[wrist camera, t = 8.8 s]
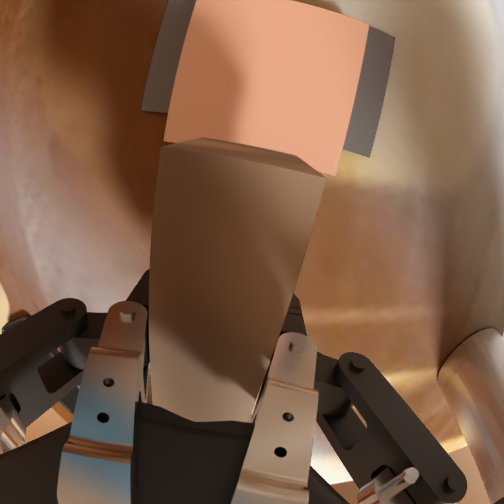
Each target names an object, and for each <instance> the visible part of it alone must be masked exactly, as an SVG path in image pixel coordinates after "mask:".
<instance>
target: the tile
mask: <svg viewBox="0 0 504 504" xmlns="http://www.w3.org/2000/svg"><path fill="white" fill-rule="evenodd" d="M368 29H369V24H367V23H365V22H362V21H360V20H357V19H354V18H351V17H349V16H346V15H343V14H340V13H337V12H333V11H330V10H327V9H323V8H320V7H316V6H313V5H309V4H305V3H301V2H297V1H292V0H196V3H195V7H194V10H193V13H192V16H191V20H190V23H189V27H188V30H187V34H186V37H185V41H184V45H183V49H182V53H181V57H180V61H179V65H178V69H177V73H176V78H175V82H174V87H173V91H172V96H171V101H170V106H169V112H168V117H167V122H166V128H165V134H164V140H163V141H166V142H173V143H179V142H183V141H188V140H193V139H197V138H202V137H204V138H211V139H217V140H223V141H229V142H235V143H240V144H245V145H250V146H256V147H260V148H265V149H270V150H275V151H279V152H284V153H288V154H292V155H296V156H298V157H299V158H300V159H302V160H303V161H304V162H306V163H307V164H308V165H310V166H311V167H312V168H314V169H315V170H316V171H318V172H322V173H326V174H330V175H333V176H336V172H337V169H338V165H339V161H340V157H341V154H342V150H343V146H344V142H345V138H346V134H347V130H348V126H349V121H350V117H351V113H352V109H353V104H354V100H355V95H356V91H357V86H358V81H359V77H360V72H361V67H362V62H363V57H364V52H365V46H366V41H367V35H368Z"/></svg>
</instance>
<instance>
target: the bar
mask: <svg viewBox="0 0 504 504" xmlns="http://www.w3.org/2000/svg"><path fill="white" fill-rule="evenodd" d="M326 179H327V178H325V177H324V176H323V175H322V174H320V173H319V172H318V171H316V170H315V169H314V168H312V167H311V166H310V165H308V164H307V163H306V162H304V161H303V160H302V159H300V158H299V157H298V156H296V155H292V154H288V153H284V152H279V151H275V150H270V149H265V148H260V147H256V146H250V145H245V144H240V143H235V142H229V141H223V140H217V139H211V138H204V137H202V138H197V139H193V140H188V141H183V142H179V143H174V144H170V145H166V146H162V147H161V150H160V157H159V164H158V172H157V180H156V189H155V199H154V209H153V221H152V235H151V251H150V274H149V352H150V374H151V390H152V403H153V405H156V406H160V407H162V408H164V409H166V410H169V411H171V412H173V413H175V414H177V415H179V416H182V417H184V418H186V419H189V420H191V421H194V422H210V421H229V420H232V421H240V422H248V419H249V417H250V414H251V411H252V409H253V406H254V404H255V401H256V398H257V396H258V393H259V390H260V388H261V385H262V382H263V380H264V377H265V374H266V371H267V369H268V366H269V363H270V360H271V358H272V355H273V352H274V349H275V346H276V343H277V340H278V338H279V335H280V332H281V329H282V326H283V323H284V320H285V317H286V314H287V311H288V308H289V305H290V302H291V299H292V295H293V292H294V289H295V286H296V283H297V280H298V276H299V273H300V270H301V267H302V263H303V260H304V257H305V254H306V250H307V247H308V243H309V240H310V237H311V233H312V230H313V226H314V223H315V219H316V216H317V212H318V209H319V205H320V201H321V198H322V194H323V190H324V186H325V183H326Z"/></svg>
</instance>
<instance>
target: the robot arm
mask: <svg viewBox="0 0 504 504" xmlns="http://www.w3.org/2000/svg"><path fill="white" fill-rule="evenodd" d="M149 274H150V269H149V270H147V271H146V272H145V273H144V274H143V276H142V277H141V279H140V280H139V282H138V284H137V285H136V286H135V288H134V289H133V291H132V292H131V294H130V295H129V297H128V298H127V300H126V301H121V302H118V303H115V304H114V305H112V306H111V307H110V308H109V310H108V313H91V312H87V309H86V305H85V304H84V303H83V302H82V301H80V300H78V299H74V298H66V299H61V300H59V301H57V302H55V303H53V304H52V305H50V306H48V307H46V308H45V309H43V310H41V311H39V312H38V313H36V314H34V315H32V316H31V317H29V318H27V319H26V320H24V321H22V322H21V323H19V324H17V325H15V326H14V327H12V328H10V329H9V330H7V331H6V332H4V333H2V334H1V335H0V504H349V503H348V502H347V501H346V500H345V499H344V498H343V497H342V496H341V495H340V494H339V493H338V492H336V491H335V490H334V489H333V488H332V487H331V486H330V485H329V484H328V483H327V482H326V481H325V480H324V479H323V478H322V477H321V476H320V475H319V474H318V473H317V472H316V471H315V470H314V469H313V468H312V467H311V466H310V463H311V456H312V448H313V441H314V433H315V425H316V421H317V423H318V425H319V426H320V428H321V429H322V431H323V433H324V434H325V436H326V438H327V439H328V441H329V442H330V444H331V446H332V447H333V449H334V450H335V452H336V454H337V455H338V457H339V458H340V460H341V461H342V463H343V465H344V466H345V468H346V469H347V471H348V472H349V474H350V476H351V477H352V479H353V480H354V482H355V483H356V485H357V486H358V488H359V489H360V490H359V493H358V497H357V500H358V502H357V504H455V503H457V502H459V501H460V500H461V499H462V498H463V497H464V496H465V494H466V491H467V480H466V477H465V475H464V474H463V472H462V471H461V470H460V469H459V468H458V466H457V465H456V464H455V463H454V461H453V460H452V459H451V457H450V456H449V455H448V454H447V452H446V451H445V450H444V449H443V447H442V446H441V445H440V444H439V442H438V441H437V440H436V439H435V438H434V436H433V435H432V434H431V433H430V431H429V430H428V429H427V428H426V427H425V425H424V424H423V423H422V422H421V420H420V419H419V418H418V417H417V416H416V414H415V413H414V412H413V411H412V410H411V408H410V407H409V406H408V405H407V404H406V402H405V401H404V400H403V399H402V398H401V396H400V395H399V394H398V393H397V392H396V390H395V389H394V388H393V387H392V386H391V384H390V383H389V382H388V381H387V380H386V379H385V377H384V376H383V375H382V374H381V373H380V371H379V370H378V369H377V368H376V367H375V366H374V364H373V363H372V362H371V361H370V360H369V359H368V358H367V357H365V356H363V355H361V354H359V353H354V352H348V353H344V354H342V355H341V356H340V358H339V360H337V359H334V358H331V357H328V356H325V355H323V354H321V353H319V352H317V347H316V344H315V343H314V342H313V341H312V340H311V339H310V338H309V337H307V334H306V329H305V324H304V320H303V316H302V310H301V305H300V301H299V299H298V298H297V297H296V296H295V294H294V293H293V295H292V299H291V302H290V305H289V308H288V311H287V314H286V317H285V320H284V323H283V326H282V329H281V332H280V335H279V338H278V340H277V343H276V346H275V349H274V352H273V355H272V358H271V360H270V363H269V366H268V369H267V371H266V374H265V377H264V380H263V383H262V386H261V388H260V391H259V395H258V398H257V401H256V405H255V408H254V411H253V414H252V417H251V420H250V423H248V422H240V421H232V420H229V421H210V422H194V421H191V420H189V419H186V418H184V417H182V416H179V415H177V414H175V413H173V412H171V411H169V410H166V409H164V408H162V407H160V406H156V405H152V404H148V403H147V394H148V377H149V362H150V352H149ZM58 347H59V348H60V351H61V352H60V353H58V354H57V355H55V356H54V357H53V358H51V359H50V360H48V361H47V362H45V363H44V364H43V365H41V366H40V367H38V363H39V362H40V360H41V359H42V358H44V357H45V356H47V355H48V354H50V353H51V352H52V351H54V350H55V349H57V348H58ZM37 367H38V368H37ZM80 383H81V384H80ZM79 384H80V388H79V393H78V397H77V401H76V406H75V411H74V415H73V420H72V422H70V423H68V424H66V425H64V426H62V427H60V428H58V429H56V430H54V431H52V432H50V433H48V434H46V435H43V436H41V437H39V438H37V439H35V440H32V441H30V442H28V443H26V444H25V441H24V438H25V434H26V427H27V426H29V425H30V424H31V423H32V422H34V421H35V420H36V419H37V418H39V417H40V416H41V415H42V414H43V413H45V412H46V411H47V410H48V409H49V408H51V407H52V406H53V405H54V404H56V403H57V402H58V401H59V400H61V399H62V398H63V397H64V396H65V395H67V394H68V393H69V392H70V391H72V390H73V389H74V388H75V387H77V386H78V385H79ZM438 384H439V386H440V388H441V390H442V392H443V394H444V396H445V398H446V400H447V402H448V404H449V406H450V408H451V410H452V412H453V414H454V416H455V418H456V420H457V422H458V425H459V427H460V429H461V431H462V433H463V435H464V438H465V440H466V442H467V444H468V447H469V449H470V451H471V454H472V456H473V458H474V461H475V463H476V466H477V468H478V471H479V473H480V476H481V479H482V481H483V484H484V486H485V489H486V492H487V495H488V498H489V501H490V504H504V338H503V337H502V336H501V334H500V333H499V332H498V331H497V330H496V329H494V328H488V329H484V330H481V331H479V332H477V333H475V334H474V335H472V336H470V337H469V338H468V339H466V340H465V341H464V342H463V343H462V344H460V345H459V346H458V347H457V348H456V349H455V350H454V351H453V352H452V354H451V355H450V356H449V357H448V359H447V360H446V361H445V363H444V364H443V366H442V367H441V370H440V372H439V375H438ZM353 405H354V406H355V407H356V409H357V410H358V411H359V413H360V414H361V416H362V417H363V418H364V420H365V421H366V423H367V428H366V427H365V426H364V424H363V423H362V421H361V420H360V419H359V417H358V416H357V414H356V413H355V412H354V410H353V409H352V407H353Z"/></svg>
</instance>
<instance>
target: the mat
mask: <svg viewBox="0 0 504 504" xmlns="http://www.w3.org/2000/svg"><path fill="white" fill-rule="evenodd" d="M195 3H196V0H169V1H168V4H167V7H166V10H165V13H164V16H163V20H162V23H161V26H160V30H159V33H158V37H157V41H156V44H155V48H154V52H153V56H152V60H151V64H150V68H149V73H148V77H147V82H146V87H145V91H144V97H143V102H142V107H141V111H151V112H162V113H168V112H169V106H170V101H171V96H172V91H173V87H174V82H175V78H176V73H177V69H178V65H179V61H180V57H181V53H182V49H183V45H184V41H185V37H186V34H187V30H188V27H189V23H190V20H191V16H192V13H193V10H194V7H195ZM394 40H395V37H393V36H390V35H388V34H386V33H384V32H381V31H379V30H376V29H374V28H371V27H369V29H368V35H367V41H366V46H365V52H364V57H363V62H362V67H361V72H360V77H359V81H358V86H357V91H356V95H355V100H354V104H353V109H352V113H351V117H350V121H349V126H348V130H347V134H346V138H345V142H344V146H343V149H345V150H348V151H351V152H354V153H357V154H360V155H363V156H366V157H369V158H370V154H371V150H372V147H373V143H374V139H375V135H376V131H377V126H378V122H379V118H380V114H381V109H382V105H383V100H384V95H385V90H386V85H387V80H388V75H389V70H390V64H391V59H392V53H393V47H394Z"/></svg>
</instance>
